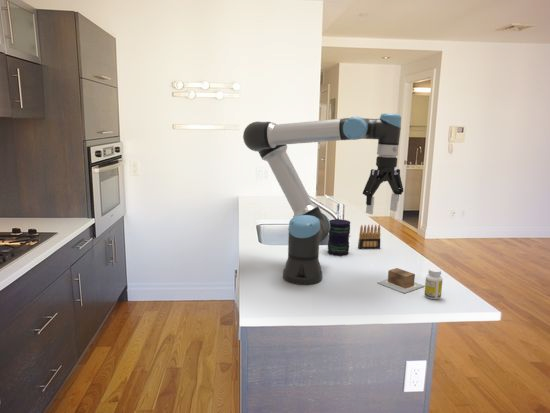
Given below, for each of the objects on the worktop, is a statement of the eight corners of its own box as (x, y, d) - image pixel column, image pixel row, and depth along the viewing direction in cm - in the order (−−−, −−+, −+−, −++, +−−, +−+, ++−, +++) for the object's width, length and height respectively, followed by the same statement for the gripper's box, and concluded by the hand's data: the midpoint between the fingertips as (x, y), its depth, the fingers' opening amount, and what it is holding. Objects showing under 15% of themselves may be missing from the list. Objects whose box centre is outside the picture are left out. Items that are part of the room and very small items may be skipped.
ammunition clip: (359, 249, 199) (360, 225, 197) (357, 248, 201) (359, 224, 199) (380, 248, 201) (382, 224, 198) (378, 247, 202) (380, 223, 200)
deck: (387, 281, 156) (388, 270, 155) (395, 279, 159) (396, 267, 158) (405, 288, 150) (406, 276, 149) (413, 285, 153) (414, 274, 152)
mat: (404, 293, 146) (404, 292, 146) (377, 283, 156) (377, 281, 155) (424, 286, 153) (424, 285, 153) (397, 277, 163) (397, 275, 162)
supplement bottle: (436, 293, 147) (439, 267, 145) (443, 299, 142) (446, 272, 140) (421, 293, 147) (424, 267, 145) (427, 299, 141) (430, 272, 139)
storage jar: (348, 256, 187) (350, 224, 184) (326, 255, 189) (328, 223, 186) (349, 250, 197) (350, 219, 194) (328, 249, 198) (329, 218, 196)
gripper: (371, 157, 144) (366, 217, 148) (416, 156, 158) (410, 211, 162) (355, 155, 150) (351, 212, 154) (400, 155, 164) (395, 207, 168)
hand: (381, 212), depth 158 cm, fingers open, 13 cm apart
